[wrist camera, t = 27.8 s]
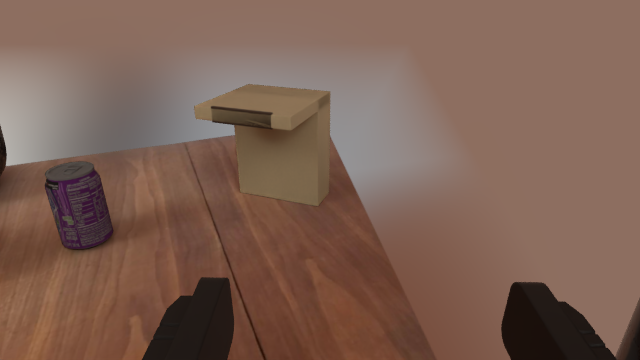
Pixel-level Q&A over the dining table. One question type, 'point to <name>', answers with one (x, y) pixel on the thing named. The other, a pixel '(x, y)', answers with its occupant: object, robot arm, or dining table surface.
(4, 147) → the planter
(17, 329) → the dining table surface
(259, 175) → the lidded cardboard box
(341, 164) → the dining table surface
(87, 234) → the beverage can
